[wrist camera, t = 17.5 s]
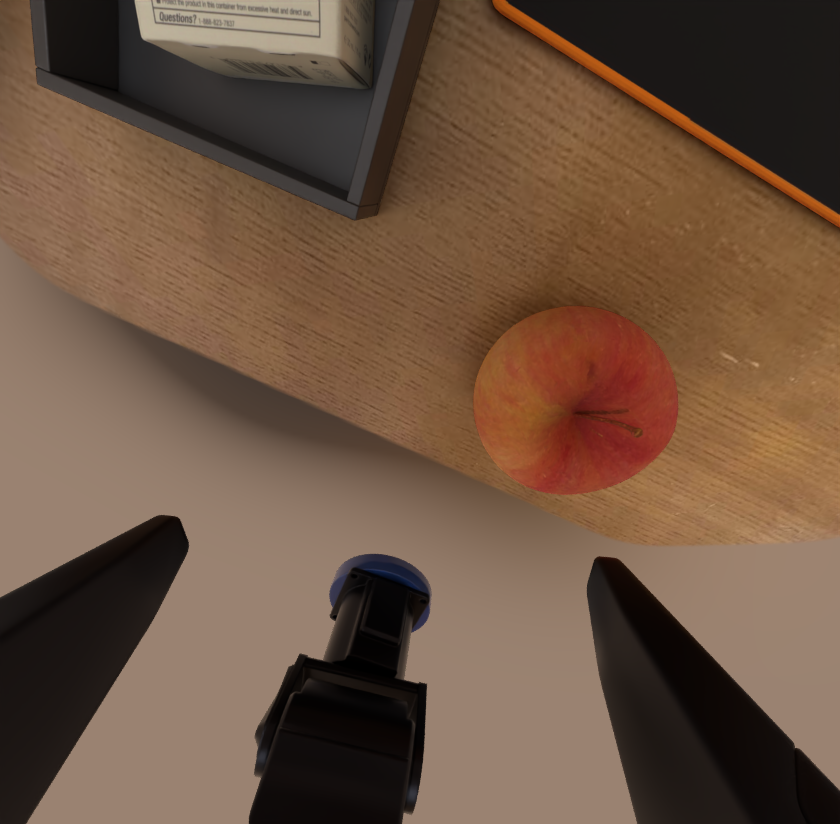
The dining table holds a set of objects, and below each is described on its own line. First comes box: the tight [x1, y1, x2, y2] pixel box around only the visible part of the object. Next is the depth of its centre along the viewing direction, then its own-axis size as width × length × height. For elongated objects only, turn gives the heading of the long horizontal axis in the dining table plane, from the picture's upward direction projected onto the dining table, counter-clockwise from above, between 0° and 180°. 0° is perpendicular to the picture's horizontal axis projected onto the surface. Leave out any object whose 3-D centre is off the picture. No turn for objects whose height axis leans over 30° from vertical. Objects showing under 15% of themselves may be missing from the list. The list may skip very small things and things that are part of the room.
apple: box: [473, 306, 678, 495], centre depth 16 cm, size 7×7×8 cm
